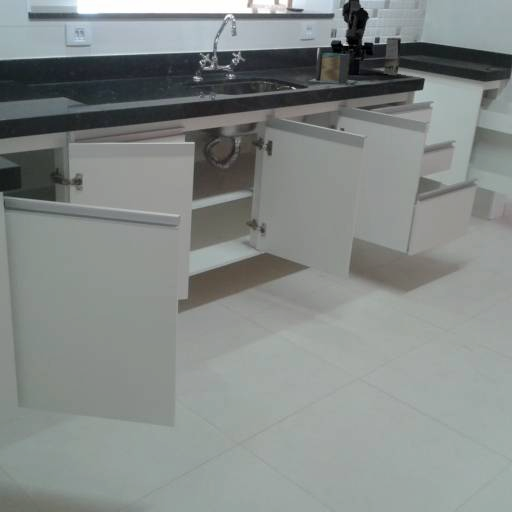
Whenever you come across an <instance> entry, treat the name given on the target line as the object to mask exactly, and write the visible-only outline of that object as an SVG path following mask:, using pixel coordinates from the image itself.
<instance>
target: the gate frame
mask: <svg viewBox="0 0 512 512" xmlns="http://www.w3.org/2000/svg"><path fill="white" fill-rule="evenodd" d="M322 53H323V47H317V51H316V70H315V73H316V74H315V78H316V81H320V80H321V68H322ZM348 57H349V55H340V69H339V83H345V84H346V83H347V72H348Z"/></svg>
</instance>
